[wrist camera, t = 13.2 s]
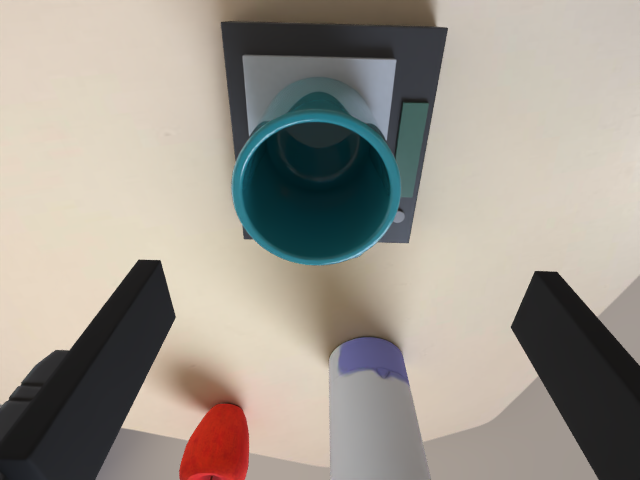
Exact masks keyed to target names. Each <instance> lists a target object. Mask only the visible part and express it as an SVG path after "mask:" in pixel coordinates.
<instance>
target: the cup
mask: <svg viewBox="0 0 640 480" xmlns="http://www.w3.org/2000/svg"><path fill="white" fill-rule="evenodd" d="M231 190H232V199H233V204H234V207H235V210H236V213H237V216H238V218H239V220H240V222H241V223H242V225H243V227H244V228H245V230H246V231H247V232H248V234H249V235H250V236H251V237H252V238H253V239H254V240H255V241H256V242H257V243H258V244H259V245H260V246H262V247H263V248H264V249H266V250H267V251H269V252H270V253H272V254H274V255H276V256H278V257H280V258H282V259H285V260H288V261H291V262H294V263H299V264H305V265H330V264H335V263H340V262H343V261H347V260H349V259H353V258H357V257H359V256H361V255H362V254H363V253H364V252H365V251H367V250H368V249H370V248H371V247H372V246H373V245H375V244H376V243H377V242H378V241H379V240H380V239H381V238H382V237H383V236H384V234H385V233H386V232H387V230H388V229H389V227H390V226H391V224H392V222H393V220H394V218H395V216H396V213H397V211H398V207H399V203H400V198H401V178H400V172H399V168H398V165H397V162H396V160H395V157H394V155H393V153H392V151H391V149H390V147H389V145H388V143H387V141H386V139H385V137H384V135H383V133H382V131H381V129H380V127H379V125H378V123H377V121H376V119H375V117H374V115H373V113H372V111H371V109H370V107H369V105H368V104H367V102H366V101H365V100H364V98H363V97H362V96H361V95H360V94H359V93H358V92H357V91H356V90H355V89H353V88H352V87H351V86H349V85H347V84H346V83H343V82H341V81H339V80H336V79H332V78H328V77H309V78H304V79H301V80H298V81H295V82H293V83H291V84H289V85H288V86H286V87H285V88H283V89H282V90H281V91H280V92H279V93H278V94H277V95H276V96H275V97H274V98H273V99H272V100H271V102H270V103H269V105H268V106H267V108H266V110H265V111H264V113H263V115H262V116H261V118H260V120H259V121H258V123H257V125H256V126H255V128H254V130H253V131H252V133H251V134H250V136H249V138H248V139H247V141H246V143H245V144H244V146H243V148H242V150H241V151H240V153H239V155H238V158H237V160H236V163H235V166H234V169H233V174H232V183H231Z"/></svg>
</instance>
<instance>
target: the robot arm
mask: <svg viewBox="0 0 640 480" xmlns="http://www.w3.org/2000/svg"><path fill="white" fill-rule="evenodd" d="M175 318H176V316H175V313H174V309H173V305H172V301H171V298H170V294H169V290H168V286H167V283H166V279H165V275H164V272H163V268H162V264H161V260H138V261H137V263H136V264H135V265H134V267H133V268H132V269H131V270H130V272H129V273H128V274H127V276H126V277H125V278H124V280H123V281H122V282H121V284H120V285H119V286H118V288H117V289H116V290H115V292H114V293H113V294H112V295H111V297H110V298H109V299H108V301H107V302H106V303H105V305H104V306H103V307H102V309H101V310H100V311H99V313H98V314H97V315H96V316H95V318H94V319H93V320H92V322H91V323H90V324H89V326H88V327H87V328H86V330H85V331H84V332H83V334H82V335H81V336H80V337H79V339H78V340H77V341H76V343H75V344H74V345H73V347H72V348H71V349H70V351H67V350H55V351H54V352H52V353H51V354H50V355H48V356H47V357H46V358H44V359H43V360H42V361H41V362H39V363H38V364H37V365H35V367H34V368H33V369H32V370H31V371H30V373H29V374H28V375H27V376H26V378H25V379H24V380H23V381H22V382H21V386H18V387H17V388H16V390H15V391H14V392H13V393H12V395H11V396H10V397H9V401H6V402H5V403H4V404H3V405H2V407H1V408H0V480H95V479H96V477H97V475H98V473H99V471H100V469H101V467H102V465H103V463H104V460H105V459H106V457H107V455H108V452H109V450H110V448H111V446H112V444H113V443H114V440H115V439H116V436H117V435H118V432H119V430H120V428H121V426H122V424H123V422H124V420H125V418H126V416H127V414H128V412H129V410H130V408H131V406H132V404H133V402H134V400H135V398H136V396H137V394H138V392H139V390H140V388H141V386H142V384H143V382H144V380H145V378H146V376H147V374H148V372H149V370H150V368H151V366H152V364H153V362H154V360H155V358H156V356H157V354H158V352H159V350H160V348H161V346H162V344H163V342H164V340H165V338H166V336H167V334H168V332H169V330H170V328H171V326H172V324H173V322H174V320H175ZM511 329H512V330H513V332H514V334H515V335H516V337H517V339H518V341H519V342H520V344H521V346H522V348H523V349H524V351H525V353H526V354H527V356H528V358H529V360H530V361H531V363H532V365H533V367H534V368H535V370H536V372H537V374H538V375H539V377H540V379H541V380H542V382H543V384H544V386H545V387H546V389H547V391H548V393H549V394H550V396H551V398H552V399H553V401H554V403H555V405H556V406H557V408H558V410H559V412H560V413H561V415H562V417H563V419H564V420H565V422H566V424H567V425H568V427H569V429H570V431H571V432H572V434H573V436H574V438H575V439H576V441H577V443H578V445H579V446H580V448H581V450H582V451H583V453H584V455H585V457H586V458H587V460H588V462H589V464H590V465H591V467H592V469H593V470H594V472H595V474H596V475H597V477H598V479H599V480H640V366H639V365H638V363H637V362H636V361H635V360H634V359H633V358H632V357H631V355H630V354H629V353H628V352H627V351H626V350H625V349H624V348H623V347H622V345H621V344H620V343H619V342H618V341H617V340H616V338H615V337H614V336H613V335H612V334H611V333H610V332H609V330H608V329H607V328H606V327H605V326H604V325H603V324H602V322H601V321H600V320H599V319H598V318H597V317H596V316H595V314H594V313H593V312H592V311H591V310H590V309H589V308H588V306H587V305H586V304H585V303H584V302H583V301H582V300H581V299H580V297H579V296H578V295H577V294H576V293H575V292H574V291H573V289H572V288H571V287H570V286H569V285H568V284H567V283H566V281H565V280H564V279H563V278H562V277H561V276H560V275H559V273H558V272H548V271H535V272H534V275H533V277H532V279H531V282H530V284H529V286H528V289H527V291H526V293H525V296H524V298H523V300H522V302H521V305H520V307H519V309H518V312H517V314H516V316H515V319H514V321H513V323H512V326H511Z"/></svg>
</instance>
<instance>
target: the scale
mask: <svg viewBox="0 0 640 480" xmlns="http://www.w3.org/2000/svg"><path fill="white" fill-rule="evenodd" d="M221 30H222V39H223V48H224V58H225V67H226V76H227V86H228V95H229V104H230V114H231V123H232V132H233V142H234V151H235V161H236V160H237V158H238V155H239V153H240V151H241V150H242V148H243V146H244V144H245V143H246V141H247V139H248V138H249V136H250V134H251V133H252V131H253V130H254V128H255V126H256V125H257V123H258V121H259V120H260V118H261V116H262V115H263V113H264V111H265V110H266V108H267V106H268V105H269V103H270V102H271V100H272V99H273V98H274V97H275V96H276V95H277V94H278V93H279V92H280V91H281V90H282V89H283V88H285V87H286V86H288V85H289V84H291V83H293V82H295V81H298V80H301V79H304V78H309V77H328V78H332V79H336V80H339V81H341V82H343V83H346V84H347V85H349V86H351V87H352V88H353V89H355V90H356V91H357V92H358V93H359V94H360V95H361V96H362V97H363V98H364V100H365V101H366V102H367V104H368V105H369V107H370V109H371V111H372V113H373V115H374V117H375V119H376V121H377V123H378V125H379V127H380V129H381V131H382V133H383V135H384V137H385V139H386V141H387V143H388V145H389V147H390V149H391V151H392V153H393V155H394V157H395V160H396V162H397V165H398V168H399V172H400V178H401V198H400V203H399V207H398V211H397V213H396V216H395V218H394V220H393V222H392V224H391V226H390V227H389V229H388V230H387V232H386V233H385V234H384V236H383V237H382V238H381V239H380V240H379V241H378V242H385V243H409V239H410V233H411V228H412V222H413V217H414V211H415V206H416V200H417V195H418V189H419V184H420V179H421V173H422V168H423V162H424V157H425V151H426V146H427V140H428V135H429V129H430V124H431V118H432V113H433V107H434V102H435V96H436V91H437V85H438V80H439V74H440V69H441V63H442V58H443V52H444V47H445V42H446V36H447V31H448V28H444V27H431V26H393V25H355V24H316V23H278V22H239V21H228V22H221ZM242 226H243V225H242ZM243 235H244V239H253V238H252V237H251V236H250V235H249V234H248V232H247V231H246V230H245V228H244V227H243Z"/></svg>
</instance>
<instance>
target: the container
mask: <svg viewBox="0 0 640 480" xmlns="http://www.w3.org/2000/svg"><path fill="white" fill-rule="evenodd" d="M329 418H330V480H431V477H430V473H429V468H428V464H427V459H426V455H425V451H424V447H423V442H422V438H421V433H420V429H419V425H418V420H417V416H416V412H415V407H414V403H413V398H412V394H411V390H410V385H409V381H408V377H407V372H406V368H405V364H404V359H403V355H402V353H401V351H400V350H399V349H398V347H396V346H395V345H394V344H392V343H391V342H389V341H386V340H383V339H380V338H373V337H363V338H356V339H353V340H349V341H347V342H345V343H343V344H341V345H340V346H338V347H337V348H336V349H335V350H334V351H333V352H332V354H331V356H330V359H329Z"/></svg>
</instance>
